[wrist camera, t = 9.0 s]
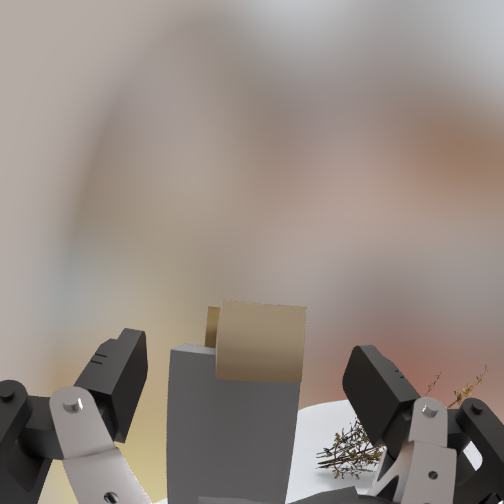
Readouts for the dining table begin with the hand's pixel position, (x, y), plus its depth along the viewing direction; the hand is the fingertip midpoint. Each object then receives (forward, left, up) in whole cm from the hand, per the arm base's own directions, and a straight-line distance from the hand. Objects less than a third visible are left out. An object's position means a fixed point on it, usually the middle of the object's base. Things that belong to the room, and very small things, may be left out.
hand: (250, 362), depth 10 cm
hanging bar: (+7, -1, 0) cm, 7 cm away
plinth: (+10, -2, -34) cm, 36 cm away
